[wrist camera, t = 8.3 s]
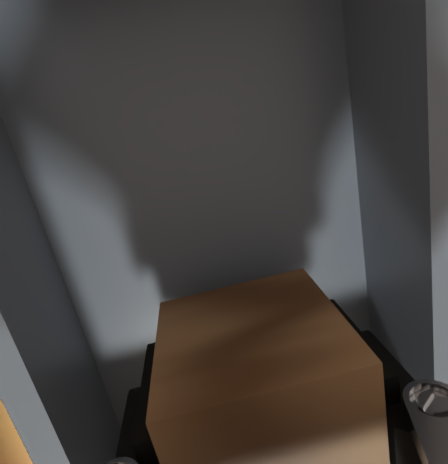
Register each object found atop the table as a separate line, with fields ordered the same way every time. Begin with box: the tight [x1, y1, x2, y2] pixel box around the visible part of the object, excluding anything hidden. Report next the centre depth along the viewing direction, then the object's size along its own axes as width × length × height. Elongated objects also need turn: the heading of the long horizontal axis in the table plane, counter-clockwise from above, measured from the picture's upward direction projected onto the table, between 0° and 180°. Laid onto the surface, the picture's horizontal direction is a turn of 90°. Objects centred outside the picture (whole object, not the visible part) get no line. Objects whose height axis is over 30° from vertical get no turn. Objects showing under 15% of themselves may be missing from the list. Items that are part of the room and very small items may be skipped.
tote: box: [0, 0, 448, 464], centre depth 12 cm, size 19×14×5 cm
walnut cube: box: [146, 268, 390, 464], centre depth 10 cm, size 5×5×5 cm
